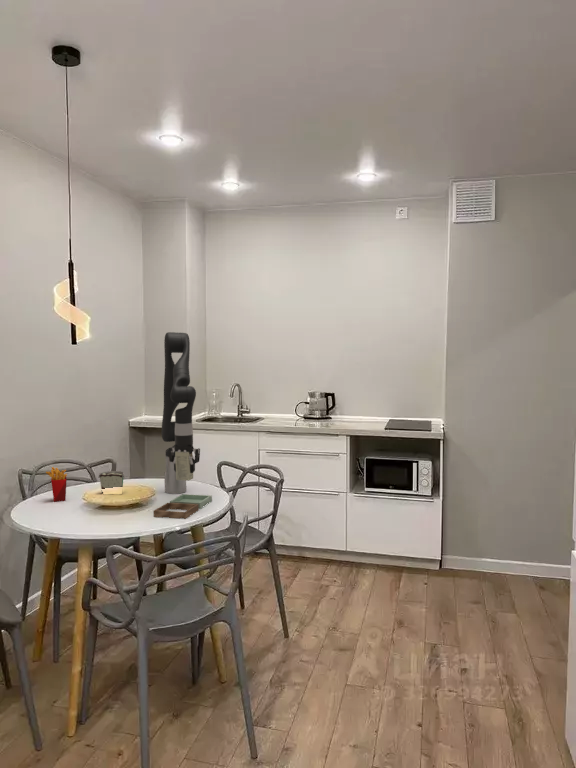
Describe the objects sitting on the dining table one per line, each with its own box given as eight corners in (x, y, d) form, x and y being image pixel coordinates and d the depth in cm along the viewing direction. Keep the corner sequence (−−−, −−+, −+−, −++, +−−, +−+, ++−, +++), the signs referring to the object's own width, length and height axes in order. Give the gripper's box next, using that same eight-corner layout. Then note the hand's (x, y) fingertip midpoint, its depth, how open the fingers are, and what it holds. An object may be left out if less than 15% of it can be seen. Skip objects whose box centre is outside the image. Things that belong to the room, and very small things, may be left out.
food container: (129, 491, 285) (128, 470, 285) (124, 494, 279) (123, 473, 279) (104, 491, 287) (103, 470, 286) (99, 494, 280) (98, 473, 280)
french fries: (67, 497, 275) (66, 465, 274) (67, 501, 268) (66, 468, 267) (46, 499, 272) (45, 466, 271) (46, 504, 264) (45, 470, 263)
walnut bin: (153, 516, 241) (153, 510, 241) (167, 508, 254) (167, 502, 254) (185, 518, 238) (185, 512, 238) (198, 510, 251) (198, 504, 250)
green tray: (169, 507, 256) (169, 501, 256) (182, 499, 269) (182, 494, 268) (200, 508, 253) (200, 503, 252) (211, 501, 265) (211, 495, 265)
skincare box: (193, 478, 257) (193, 450, 256) (188, 481, 253) (188, 452, 252) (180, 477, 259) (179, 449, 258) (175, 479, 255) (174, 451, 254)
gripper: (203, 432, 256) (203, 471, 257) (172, 431, 260) (173, 469, 261) (196, 435, 249) (196, 475, 250) (164, 434, 252) (165, 473, 254)
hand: (184, 472), depth 255 cm, fingers closed on skincare box, 6 cm apart
